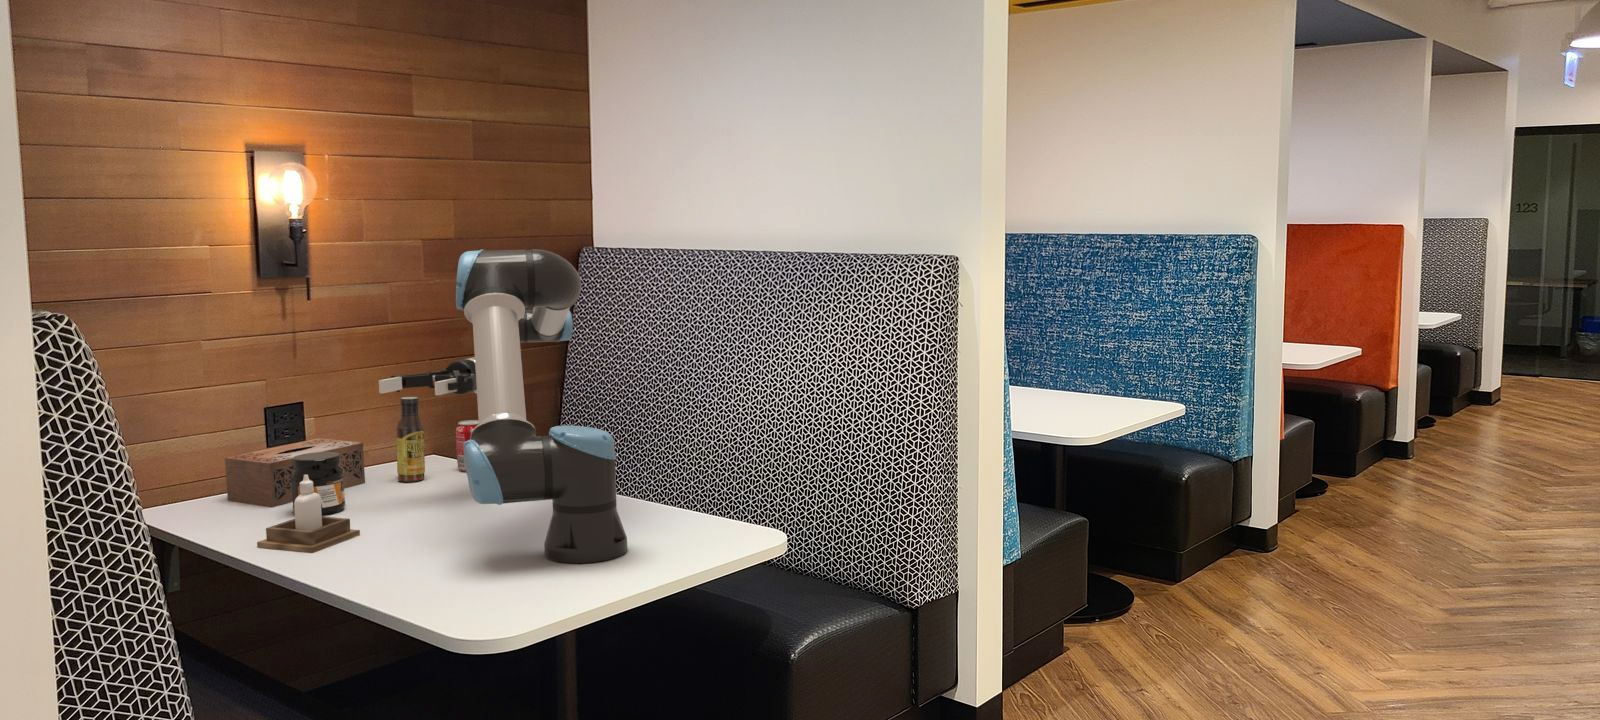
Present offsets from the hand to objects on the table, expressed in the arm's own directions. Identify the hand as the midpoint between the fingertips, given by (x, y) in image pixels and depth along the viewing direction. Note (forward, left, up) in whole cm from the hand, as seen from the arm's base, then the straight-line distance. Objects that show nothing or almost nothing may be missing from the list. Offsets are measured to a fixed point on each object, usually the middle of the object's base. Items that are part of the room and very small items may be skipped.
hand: (408, 387), depth 242 cm
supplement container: (+15, +17, -27) cm, 36 cm away
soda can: (+42, -20, -27) cm, 54 cm away
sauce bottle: (+37, -5, -27) cm, 47 cm away
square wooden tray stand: (-10, +21, -27) cm, 36 cm away
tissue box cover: (+37, +20, -28) cm, 51 cm away
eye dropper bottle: (-10, +21, -26) cm, 35 cm away
